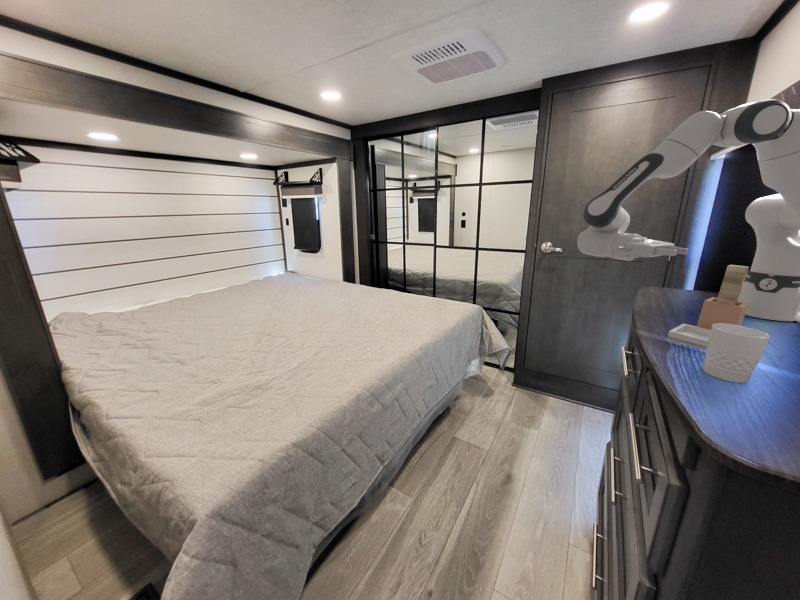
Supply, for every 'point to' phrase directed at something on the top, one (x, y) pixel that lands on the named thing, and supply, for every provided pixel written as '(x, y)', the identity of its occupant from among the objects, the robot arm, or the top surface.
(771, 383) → the top surface
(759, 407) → the top surface
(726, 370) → the white cup
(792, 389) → the top surface
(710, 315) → the terracotta cup
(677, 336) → the grey tray
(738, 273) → the birch stick
